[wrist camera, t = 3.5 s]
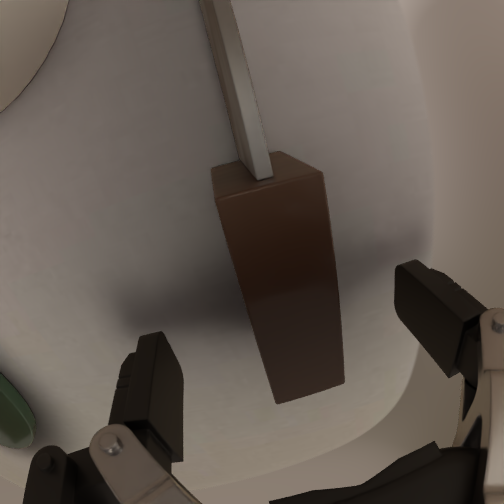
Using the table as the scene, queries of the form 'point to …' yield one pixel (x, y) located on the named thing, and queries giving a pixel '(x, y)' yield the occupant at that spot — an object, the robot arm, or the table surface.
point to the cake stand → (15, 418)
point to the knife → (275, 235)
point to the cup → (25, 41)
